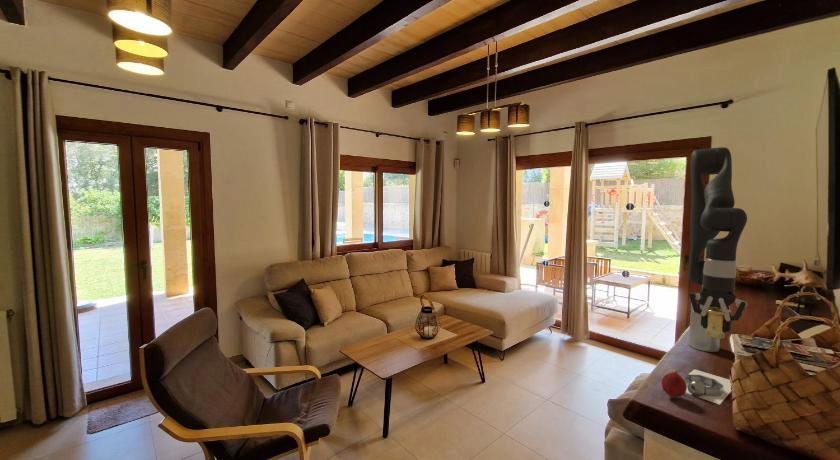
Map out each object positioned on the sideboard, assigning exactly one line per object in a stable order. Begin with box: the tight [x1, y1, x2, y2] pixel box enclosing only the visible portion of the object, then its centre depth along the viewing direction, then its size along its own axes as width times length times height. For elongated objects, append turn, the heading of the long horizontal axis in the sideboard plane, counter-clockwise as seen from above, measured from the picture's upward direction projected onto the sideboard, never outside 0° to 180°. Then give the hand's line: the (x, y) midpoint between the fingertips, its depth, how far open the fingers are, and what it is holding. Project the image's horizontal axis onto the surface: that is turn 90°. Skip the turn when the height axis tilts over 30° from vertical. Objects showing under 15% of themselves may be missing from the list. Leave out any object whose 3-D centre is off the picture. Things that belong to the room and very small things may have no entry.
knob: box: [706, 308, 726, 339], centre depth 110 cm, size 5×5×8 cm
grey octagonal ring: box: [683, 373, 723, 398], centre depth 105 cm, size 11×9×4 cm
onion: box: [661, 369, 687, 399], centre depth 103 cm, size 6×6×8 cm
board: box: [682, 368, 733, 408], centre depth 108 cm, size 20×11×1 cm, turn 128°
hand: (715, 329), depth 110 cm, fingers closed on knob, 4 cm apart
